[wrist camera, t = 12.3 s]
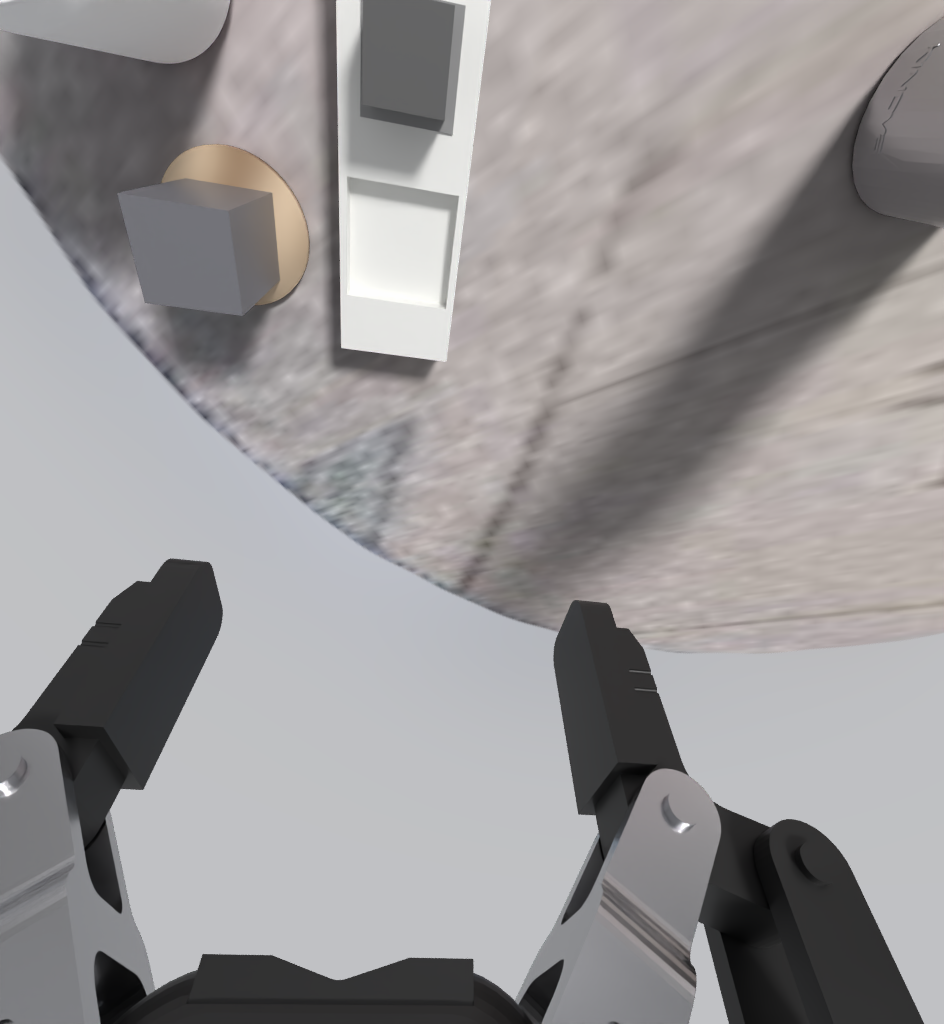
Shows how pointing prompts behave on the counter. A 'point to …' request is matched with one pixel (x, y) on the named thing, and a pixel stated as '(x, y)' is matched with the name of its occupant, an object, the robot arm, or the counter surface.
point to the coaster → (253, 174)
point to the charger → (202, 244)
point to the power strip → (404, 166)
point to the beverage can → (121, 25)
